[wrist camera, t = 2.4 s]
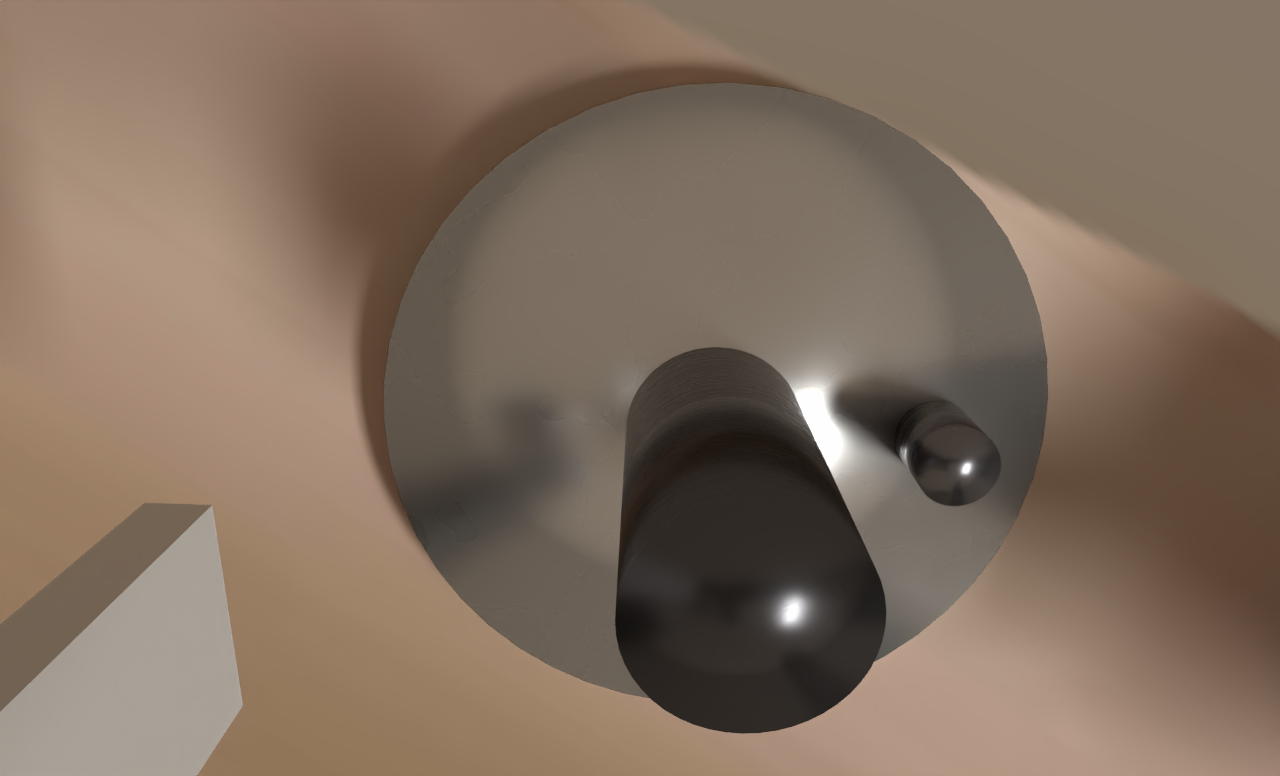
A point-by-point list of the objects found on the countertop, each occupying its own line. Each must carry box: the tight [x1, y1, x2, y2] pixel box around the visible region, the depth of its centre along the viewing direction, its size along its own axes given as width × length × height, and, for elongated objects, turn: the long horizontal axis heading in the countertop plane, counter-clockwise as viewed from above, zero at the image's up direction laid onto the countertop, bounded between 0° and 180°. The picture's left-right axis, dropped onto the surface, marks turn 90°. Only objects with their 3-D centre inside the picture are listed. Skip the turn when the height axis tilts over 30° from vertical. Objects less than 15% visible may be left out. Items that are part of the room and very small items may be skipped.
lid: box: [384, 83, 1048, 733], centre depth 14 cm, size 12×12×7 cm
